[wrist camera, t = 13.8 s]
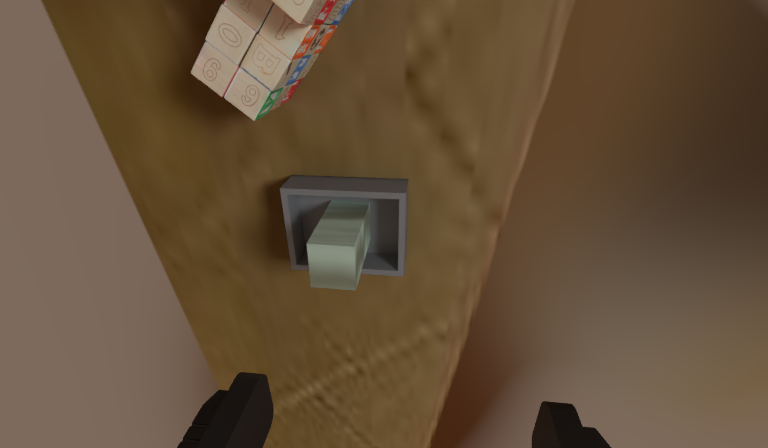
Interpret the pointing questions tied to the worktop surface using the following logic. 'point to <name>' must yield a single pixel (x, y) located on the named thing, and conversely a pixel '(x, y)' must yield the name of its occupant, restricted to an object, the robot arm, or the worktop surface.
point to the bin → (314, 194)
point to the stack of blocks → (265, 49)
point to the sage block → (339, 245)
